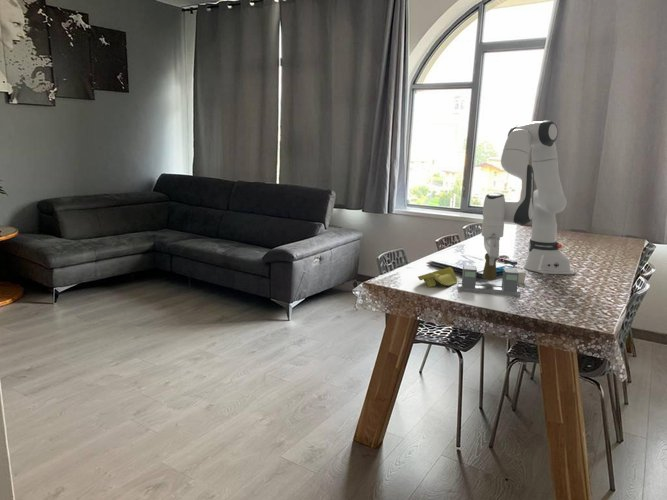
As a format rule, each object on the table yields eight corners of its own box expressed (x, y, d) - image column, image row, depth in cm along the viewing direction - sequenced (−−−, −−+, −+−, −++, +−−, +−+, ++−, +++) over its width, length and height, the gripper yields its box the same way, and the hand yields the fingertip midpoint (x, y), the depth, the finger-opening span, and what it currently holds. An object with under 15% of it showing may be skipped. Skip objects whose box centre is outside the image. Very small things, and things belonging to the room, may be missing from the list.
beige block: (519, 280, 219) (520, 269, 218) (524, 283, 214) (525, 272, 213) (510, 280, 219) (511, 269, 218) (515, 283, 214) (516, 272, 213)
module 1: (474, 284, 205) (475, 265, 204) (475, 289, 198) (476, 270, 197) (461, 283, 206) (463, 264, 205) (462, 288, 199) (464, 269, 198)
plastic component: (433, 272, 220) (453, 265, 215) (438, 287, 220) (458, 282, 214) (413, 277, 204) (434, 271, 199) (419, 294, 204) (440, 288, 198)
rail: (517, 291, 202) (518, 286, 202) (520, 296, 195) (520, 291, 195) (457, 286, 207) (458, 282, 207) (458, 291, 200) (458, 286, 200)
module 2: (514, 287, 202) (516, 268, 200) (516, 292, 195) (518, 273, 193) (501, 286, 203) (503, 267, 201) (503, 291, 196) (505, 272, 194)
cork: (496, 276, 214) (499, 252, 212) (496, 280, 209) (498, 255, 206) (482, 275, 216) (484, 250, 214) (481, 278, 211) (483, 253, 208)
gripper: (503, 236, 198) (501, 269, 201) (497, 227, 217) (495, 258, 220) (487, 236, 199) (485, 269, 202) (482, 227, 218) (480, 257, 221)
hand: (490, 263), depth 211 cm, fingers closed on cork, 4 cm apart
